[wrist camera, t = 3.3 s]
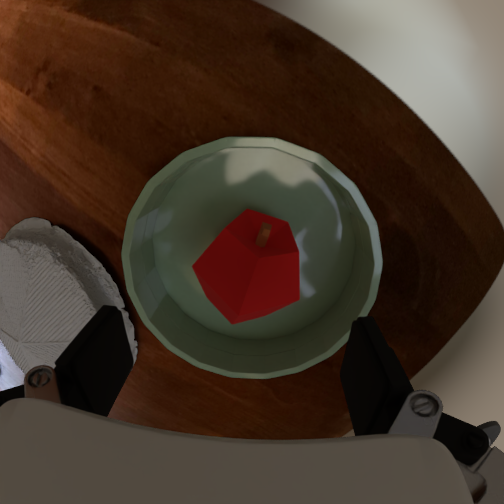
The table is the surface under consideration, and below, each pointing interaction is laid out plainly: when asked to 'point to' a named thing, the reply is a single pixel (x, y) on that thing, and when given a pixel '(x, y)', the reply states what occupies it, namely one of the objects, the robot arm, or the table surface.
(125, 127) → the table surface
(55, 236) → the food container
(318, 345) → the pale green round dish
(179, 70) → the table surface
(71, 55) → the table surface
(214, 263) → the apple
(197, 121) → the table surface
